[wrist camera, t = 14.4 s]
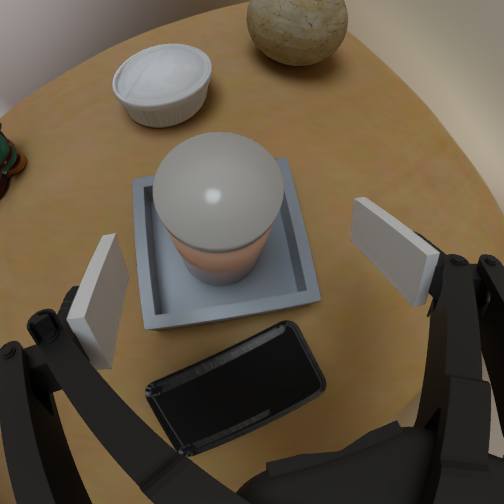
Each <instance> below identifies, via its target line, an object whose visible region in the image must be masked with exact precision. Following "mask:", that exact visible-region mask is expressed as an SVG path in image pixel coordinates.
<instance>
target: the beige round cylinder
mask: <svg viewBox="0 0 504 504" xmlns="http://www.w3.org/2000/svg"><path fill="white" fill-rule="evenodd" d="M283 194H284V183H283V177H282V174H281V171H280V168H279V166H278V164H277V162H276V161H275V159H274V158H273V157H272V155H271V154H270V153H269V152H268V151H267V150H266V149H265V148H264V147H262V146H261V145H260V144H258V143H257V142H255V141H253V140H251V139H250V138H247V137H245V136H242V135H238V134H235V133H228V132H210V133H205V134H200V135H197V136H194V137H192V138H189V139H187V140H185V141H183V142H182V143H180V144H179V145H177V146H176V147H175V148H173V149H172V150H171V151H170V152H169V153H168V154H167V156H166V157H165V158H164V159H163V161H162V162H161V164H160V165H159V168H158V170H157V172H156V175H155V178H154V183H153V200H154V204H155V208H156V211H157V213H158V215H159V217H160V219H161V221H162V223H163V225H164V227H165V228H166V230H167V232H168V234H169V236H170V238H171V240H172V242H173V243H174V245H175V247H176V249H177V251H178V253H179V254H180V256H181V258H182V260H183V262H184V264H185V265H186V267H187V269H188V270H189V272H190V273H191V274H192V275H193V276H194V277H196V278H197V279H198V280H200V281H201V282H204V283H206V284H209V285H213V286H228V285H232V284H235V283H237V282H239V281H241V280H243V279H244V278H245V277H247V276H248V275H249V274H250V273H251V271H252V270H253V269H254V267H255V265H256V263H257V261H258V258H259V256H260V254H261V252H262V249H263V247H264V245H265V242H266V240H267V238H268V235H269V233H270V231H271V228H272V226H273V224H274V221H275V219H276V217H277V214H278V212H279V210H280V207H281V204H282V201H283Z"/></svg>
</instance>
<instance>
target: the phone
mask: <svg viewBox="0 0 504 504" xmlns="http://www.w3.org/2000/svg"><path fill="white" fill-rule="evenodd" d="M325 388H326V380H325V378H324V376H323V374H322V372H321V370H320V368H319V366H318V364H317V362H316V360H315V358H314V356H313V354H312V352H311V351H310V349H309V347H308V345H307V343H306V341H305V339H304V337H303V335H302V333H301V331H300V329H299V327H298V326H297V325H296V324H295V323H294V322H292V321H289V320H288V321H282V322H279V323H277V324H275V325H273V326H271V327H269V328H267V329H265V330H263V331H261V332H259V333H257V334H255V335H253V336H251V337H249V338H247V339H245V340H243V341H241V342H239V343H237V344H235V345H233V346H231V347H229V348H227V349H225V350H223V351H221V352H219V353H216V354H214V355H212V356H210V357H208V358H206V359H204V360H201V361H199V362H197V363H195V364H193V365H190V366H188V367H186V368H184V369H181V370H179V371H177V372H175V373H172V374H170V375H168V376H165V377H163V378H161V379H158V380H156V381H154V382H152V383H150V384H149V385H148V386H147V387H146V390H145V396H146V399H147V401H148V403H149V405H150V406H151V408H152V410H153V412H154V414H155V416H156V417H157V419H158V421H159V423H160V424H161V426H162V428H163V430H164V431H165V433H166V435H167V436H168V438H169V440H170V441H171V443H172V445H173V446H174V448H175V450H176V451H177V452H178V453H180V454H183V455H184V456H187V457H190V456H194V455H197V454H200V453H202V452H205V451H207V450H210V449H212V448H215V447H217V446H220V445H222V444H224V443H227V442H229V441H231V440H234V439H236V438H238V437H240V436H243V435H245V434H247V433H249V432H251V431H254V430H256V429H258V428H260V427H262V426H264V425H266V424H268V423H270V422H272V421H274V420H276V419H278V418H280V417H282V416H284V415H286V414H288V413H290V412H291V411H293V410H295V409H297V408H299V407H301V406H302V405H304V404H306V403H308V402H310V401H311V400H313V399H315V398H317V397H318V396H320V395H321V394H322V393H323V392H324V391H325Z"/></svg>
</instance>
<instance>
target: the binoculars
mask: <svg viewBox="0 0 504 504" xmlns="http://www.w3.org/2000/svg"><path fill="white" fill-rule="evenodd" d="M1 125H2V124H1V123H0V130H1V127H2V126H1ZM26 162H27V159H26V157H25V156H24V155H23V154H22V153H16V150H15V148H14V144H13V143H12V142H11V141H10V140H9V139H7V138H6V137H5V136H4V134H3V133H2V132H1V131H0V197H1V195H2V193H3V192H4V189H5V186H6V183H7V178H8V176H9V173H10V174H16V173H18V172H20V171H21V170H22V169H23V168H24V167H25V165H26ZM1 170H2V171H3V172H6V171H7V174H6V175H5V174H3V173H2V171H1Z"/></svg>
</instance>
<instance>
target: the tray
mask: <svg viewBox="0 0 504 504" xmlns="http://www.w3.org/2000/svg"><path fill="white" fill-rule="evenodd" d="M275 161H276V162H277V164H278V166H279V168H280V171H281V174H282V177H283V183H284V194H283V201H282V204H281V207H280V210H279V212H278V214H277V217H276V219H275V221H274V224H273V226H272V228H271V231H270V233H269V235H268V238H267V240H266V242H265V245H264V247H263V249H262V252H261V254H260V256H259V258H258V261H257V263H256V265H255V267H254V269H253V270H252V271H251V273H250V274H249V275H248V276H247V277H245V278H244V279H243V280H241V281H239V282H237V283H235V284H232V285H228V286H213V285H209V284H206V283H204V282H201V281H200V280H198V279H197V278H196V277H194V276H193V275H192V274H191V273H190V272H189V270H188V269H187V267H186V265H185V264H184V262H183V260H182V258H181V256H180V254H179V253H178V251H177V249H176V247H175V245H174V243H173V242H172V240H171V238H170V236H169V234H168V232H167V230H166V228H165V227H164V225H163V223H162V221H161V219H160V217H159V215H158V213H157V211H156V208H155V204H154V200H153V183H154V178H155V175H152V176H146V177H141V178H136V179H133V211H134V231H135V246H136V259H137V270H138V280H139V289H140V298H141V306H142V314H143V321H144V328H145V330H164V329H171V328H178V327H186V326H193V325H199V324H206V323H212V322H219V321H225V320H231V319H237V318H243V317H249V316H254V315H260V314H265V313H271V312H276V311H281V310H287V309H292V308H297V307H302V306H307V305H310V304H313V303H315V302H318V301H321V296H320V291H319V287H318V282H317V277H316V273H315V268H314V264H313V260H312V255H311V251H310V247H309V242H308V238H307V234H306V230H305V226H304V221H303V217H302V213H301V209H300V205H299V202H298V198H297V194H296V190H295V186H294V182H293V179H292V175H291V171H290V167H289V164H288V160H287V158H278V159H275Z"/></svg>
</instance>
